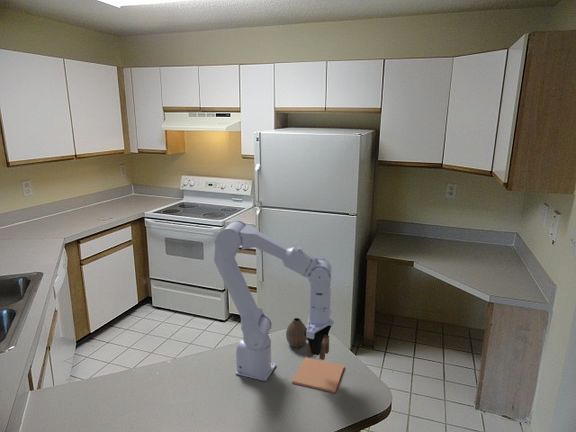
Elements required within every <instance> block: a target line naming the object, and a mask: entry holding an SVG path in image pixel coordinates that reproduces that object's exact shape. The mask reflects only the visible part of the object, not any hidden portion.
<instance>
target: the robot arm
mask: <svg viewBox="0 0 576 432" xmlns="http://www.w3.org/2000/svg"><path fill="white" fill-rule="evenodd" d="M213 242H214V246H215V247H214V257H213V258H214V259H213V261H214V264H215V266H216V268H217V270H218V272H219V275H220V276H221V278H222V281H223V282H224V285H225V286H226V289H227V291H228V294H229V295H230V298H231V300H232V302H233V304H234V306H235V308H236V310H237V313H238V315H239V316H240V329H241V331H242V335H243V337H242V338H241V339H239V341H238V343H237V347H236V354H235V355H236V356H235V358H236V360H235V361H236V371H235V375H238V376H243V377H247V378H251V379H254V380H255V379H256V380H259V381H264V382H265V381H267V380H268V379H269V377H270V375H271V374H272V372H273V371H274V369H275V368H276V366H277V364H276V363H275V362H272V353H271V352H272V346H271V345H272V344H271V343H272V342H271V341H272V339H271V338H270V336H269V333H270V331H271V329H272V323H273V322H272V321H271V319H270V317H269V316H267V315H266V314H265V313H264V311H263V309H262V308H260V307H258V305H257V303H256V301H255V298H254V297H253V294H252V293H251V290H250V288H249V286H248V283H247V281H246V280H245V278H244V276H243V273H242V271H241V268H240V266H239V265H238V262H237V261H236V256H237V253H239V252H238V251H239V250H240V247H241V250H247V249H252V248H256V249H258V250H260V251H262V252H264V253H267V254H269V255H271V256H274V258H275V257H276V258H278V259H280V260H281V261H282V264H283V266H284V267H285V268H287V269H289V270H291V271H293V272H295V273H297V274H298V275H301V276H303V277H304V278H307V279H308V282H309V283H310V284H309V289H308V290H309V291H308V292H309V295H308V298H309V299H308V318H307V327H306V329H305V331H304V335H305V337H306V338H307V342H309V346H310V350H311V353H312V354H314V355H313V356H319V357H320V351H321V345H322V341H323V338H324V336H325V335H330V334H329V333H330V331H331V328H332V327H333V326H334V324H335V321H334V320H333V319H331V314H332V308H331V296H332V295H331V293H332V292H331V290H332V289H331V281H332V266H331V264H330V262H329V261H328V260H326V259H325V258H323V257H320V258H319V257H318V256H312V255H310V254H308V253H307V252H305V251H303V250H304V248H302V247H300V246H298V247H295V246H293V247H286V246H284V245H282V244H281V243H279V242H278V241H276V240H274V239H273V238H271V237H270V236H268V235H266V234H264V233H262V232H261V231H259V230H258V229H256V228H255V227H253V226H252V225H250V224H246V223H245V222H243V221H241V220H238V219H237V220H233V221H230V222H229V223H228V224H227V226H226V227H224V228H223V229H222V230H220V231H219V233H218V234H217V235H216V238H215V239H214V241H213Z"/></svg>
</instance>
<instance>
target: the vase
mask: <svg viewBox="0 0 576 432" xmlns="http://www.w3.org/2000/svg"><path fill="white" fill-rule="evenodd" d="M306 328H307V326H306V325H305V323H303V322H302V319H301V318H300V317H295V318H293V320H292V321H291V322H290V323H289V324H288V327H287V328H286V331H285V334H286V335H285V338H286V341H287V343H288V344H289V345H290V346H291V347H293V348H301V347H303V346H304V345H305V344H306V343H307V342H308V340H307V338H306V337H305V335H304V331H305V329H306Z"/></svg>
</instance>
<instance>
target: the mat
mask: <svg viewBox="0 0 576 432" xmlns="http://www.w3.org/2000/svg"><path fill="white" fill-rule="evenodd" d="M344 369H345V365H344V364H340V363H334V362H329V361H324V360H321V359H319V360H318V359H315V358H312V357H304V359H303V361H302V363H301V364H300V366H299V368H298V370H297V371H296V374H295V376H294V377H293V379H292V381H291V382H292V384H295V385H299V386H303V387H308V388H313V389H316V390H320V391H326V392H328V393H336V392H337V391H336V390H337V388H338V386H339V383H340V380H341V377H342V375H343V372H344Z"/></svg>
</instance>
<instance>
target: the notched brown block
mask: <svg viewBox="0 0 576 432" xmlns="http://www.w3.org/2000/svg"><path fill="white" fill-rule="evenodd" d="M307 342H308V341H307ZM307 344H308V347H307V348H308V349H307V351H308V352H307V355H308V358H313V357H314V356H315V355H314V354H312V353H311V350H310V346H309V342H308V343H307ZM329 351H330V334H328V335H325V336H324V338H323V341H322V345H321V351H320V354H319V360H320V361H324V360H325V359H326V354H329Z"/></svg>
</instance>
